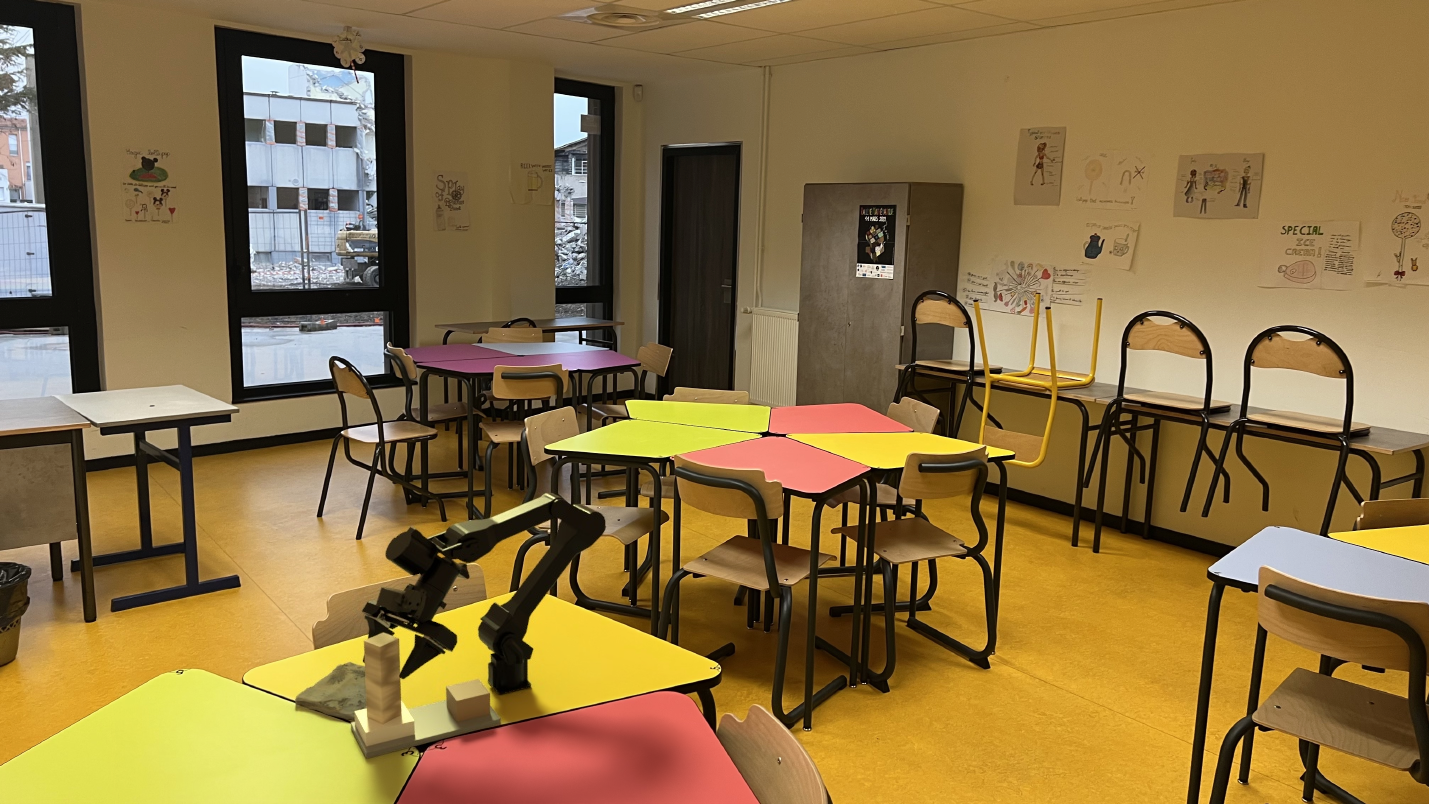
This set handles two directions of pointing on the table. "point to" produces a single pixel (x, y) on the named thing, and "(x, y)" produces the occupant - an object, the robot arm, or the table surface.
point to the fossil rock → (337, 692)
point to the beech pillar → (382, 677)
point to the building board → (428, 720)
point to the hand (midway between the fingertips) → (382, 670)
